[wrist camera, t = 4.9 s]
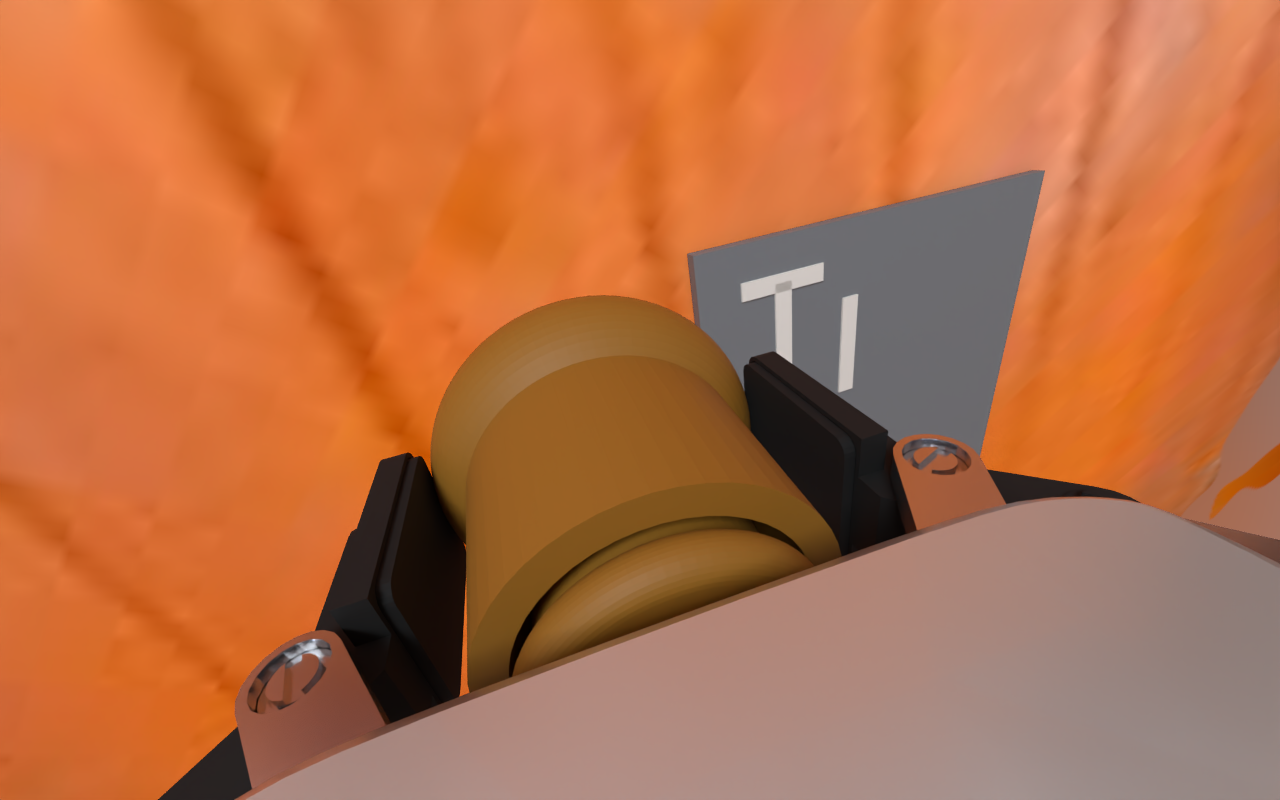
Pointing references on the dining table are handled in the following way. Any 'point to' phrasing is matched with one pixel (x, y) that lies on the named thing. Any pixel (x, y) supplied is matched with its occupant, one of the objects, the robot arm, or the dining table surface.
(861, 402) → the slate board
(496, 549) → the ornamental finial
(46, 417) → the dining table surface
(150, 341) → the dining table surface
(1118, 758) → the robot arm
